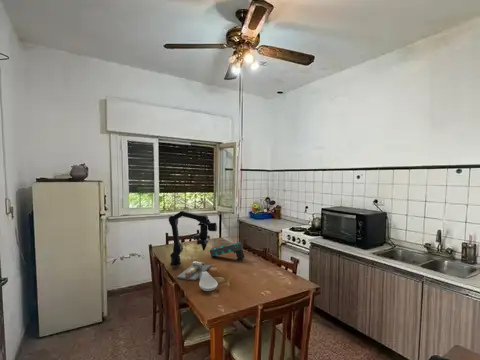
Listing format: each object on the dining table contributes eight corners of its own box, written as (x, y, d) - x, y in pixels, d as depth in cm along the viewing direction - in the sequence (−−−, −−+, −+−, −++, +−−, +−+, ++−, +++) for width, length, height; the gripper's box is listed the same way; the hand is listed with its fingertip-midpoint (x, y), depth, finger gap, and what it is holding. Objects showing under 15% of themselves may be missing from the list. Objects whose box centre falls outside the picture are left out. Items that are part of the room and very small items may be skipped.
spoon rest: (219, 292, 162) (220, 280, 162) (201, 295, 158) (201, 283, 158) (210, 277, 184) (210, 267, 184) (193, 280, 180) (193, 269, 180)
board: (176, 278, 182) (176, 276, 182) (194, 265, 209) (194, 263, 209) (195, 280, 178) (195, 278, 178) (210, 266, 205) (210, 265, 205)
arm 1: (198, 265, 203) (198, 262, 203) (199, 266, 202) (199, 263, 202) (185, 276, 181) (185, 273, 181) (186, 276, 181) (186, 273, 181)
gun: (243, 259, 220) (238, 241, 221) (213, 266, 228) (208, 249, 229) (246, 256, 226) (241, 240, 227) (215, 263, 235) (211, 247, 236)
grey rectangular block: (194, 267, 199) (194, 261, 199) (201, 268, 198) (201, 262, 197) (192, 268, 196) (192, 262, 196) (199, 269, 195) (199, 263, 195)
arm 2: (200, 266, 202) (200, 263, 202) (201, 266, 202) (201, 263, 202) (186, 276, 181) (186, 273, 181) (188, 277, 181) (188, 273, 181)
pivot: (200, 264, 208) (201, 261, 208) (204, 264, 207) (204, 262, 207) (198, 266, 203) (198, 263, 203) (201, 266, 202) (201, 264, 202)
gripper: (197, 228, 218) (197, 246, 219) (190, 233, 200) (190, 253, 200) (210, 228, 217) (210, 247, 218) (204, 233, 199) (204, 254, 199)
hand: (203, 250), depth 209 cm, fingers closed
